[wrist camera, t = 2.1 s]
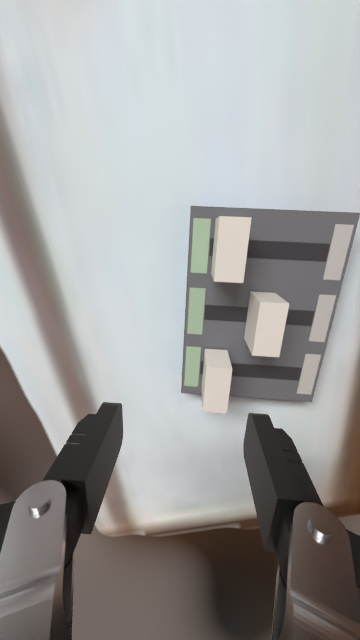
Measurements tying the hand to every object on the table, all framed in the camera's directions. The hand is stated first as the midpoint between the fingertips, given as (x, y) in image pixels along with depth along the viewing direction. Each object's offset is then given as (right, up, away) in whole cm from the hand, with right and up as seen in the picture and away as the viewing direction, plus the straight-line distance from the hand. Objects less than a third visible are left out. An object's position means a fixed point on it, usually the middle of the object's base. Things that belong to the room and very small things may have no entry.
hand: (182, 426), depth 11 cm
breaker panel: (+8, +6, +18) cm, 21 cm away
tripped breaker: (+8, +5, +15) cm, 18 cm away
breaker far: (+4, -1, +17) cm, 18 cm away
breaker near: (+4, +11, +13) cm, 18 cm away
